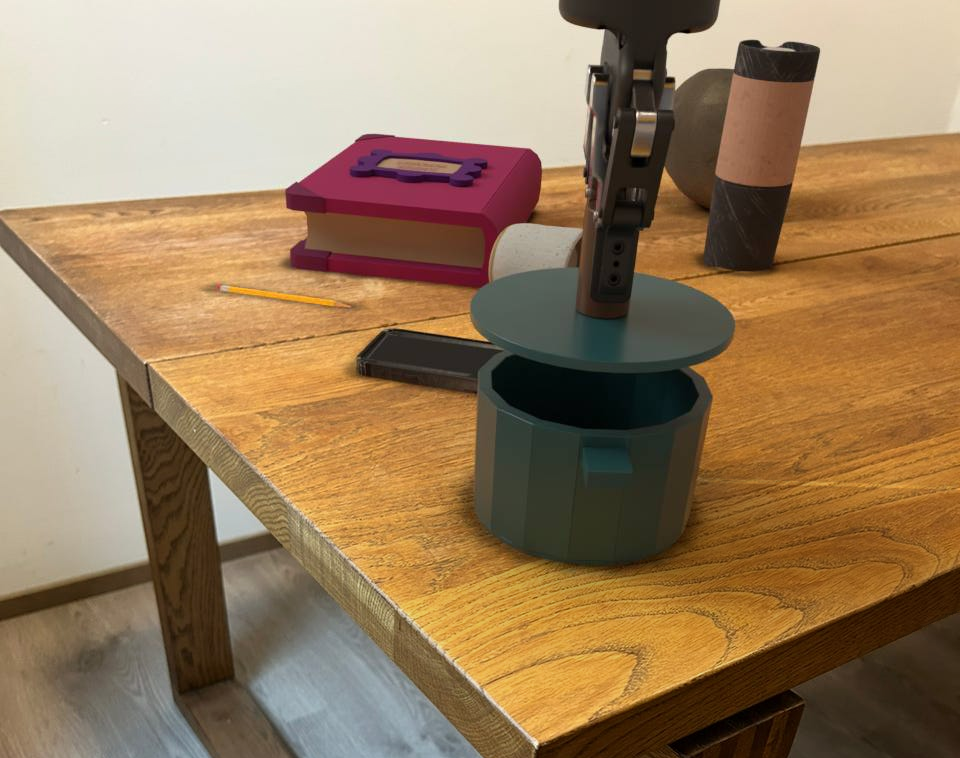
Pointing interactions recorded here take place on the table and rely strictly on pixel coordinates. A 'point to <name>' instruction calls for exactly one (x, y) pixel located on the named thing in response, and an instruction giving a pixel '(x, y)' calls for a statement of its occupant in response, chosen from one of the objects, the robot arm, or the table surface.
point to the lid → (601, 319)
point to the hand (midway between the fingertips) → (605, 287)
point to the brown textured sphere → (698, 132)
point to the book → (413, 208)
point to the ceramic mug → (534, 249)
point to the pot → (587, 458)
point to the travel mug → (759, 153)
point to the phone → (426, 359)
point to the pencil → (280, 296)
